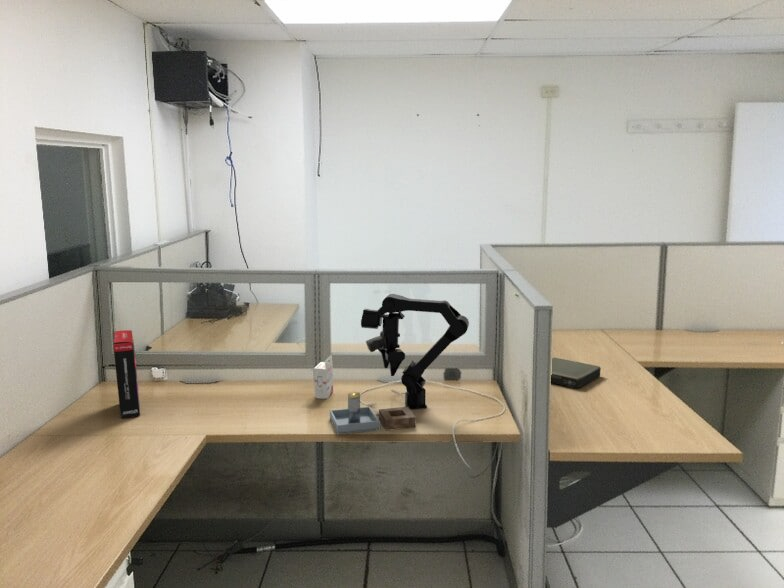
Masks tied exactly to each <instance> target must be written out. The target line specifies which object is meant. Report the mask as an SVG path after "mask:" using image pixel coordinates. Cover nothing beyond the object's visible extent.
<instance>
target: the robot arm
mask: <svg viewBox="0 0 784 588" xmlns="http://www.w3.org/2000/svg"><path fill="white" fill-rule="evenodd" d="M405 311H406V312H407V311H410V312H411V311H413V312H423V313H435V314H437V313H438V314H440V315H441V316H442V317H443V318H444V320H445V321H446V323H447V324H448V325H449V326H448V327H447V330H446V331H445V332H444V333H443V335H441V337H440V338H439V339H438V340H437V341H436V342H435V343H433V345H432V346H431V347H430V348H429V349H428V351H427V352H425V354H423V356H422V357H421V358H420V359H419V360H418V361H416V362H415V361H414V360H411V362H410V363H409V364H408V365H407V366H405V367H404V369H403V370H402V375H401V379H400V382H401V384H402V385H403V386H404V387H405V389H406V392H405V393H404V403H405V405H406V407H408V408H409V410H413V409H414V410H415V409H423V408H424V409H425V408H428V405H427V404H426V394H427V393H426V391H427V389H425V388H424V386H425V384H426V379H425V378H424V377H423V376H422V375H423V374H424V372H425V371H426V369H427V368H428V367H429V366H430V365H431V364H433V362H435V360H436V359H437V358H438V357H439V356H440V355H441V354H442V353H443V352H444V351H445V350H446V349H447V347H448V346H449V345H451V344H452V343H454V341H456V340H458V339H459V338H461V337H462V336H464V335H465V334H466V333H467V331H468V329H469V327H470V326H469V325H470V321H469V319H468V317H466V316H464V315H463V314H461V313H460V312H459V311H458V310H457V309H456V308H454V307H453V306H452V305H451V304H450V302H449V301H447V300H434V299H432V300H431V299H419V298H409V297H406V296H404V295H401V294H396V293H389V294H388V295H386V296H385V298H384V299H383V300H382V303H381V306H380V307H379V308H378V309H370V308H364V309H363V310H362V315H361V319H360V327H361V328H362V329H373V330H378V329H379V327H382V330H381V331H380V332H379V335H378V336H374V337H372V338H370V339H367V340H366V341H365V343H366V346H367V350H368V351H370V353H374V352H376V351H377V350H378V351H379V353H380V355H381V358H382V364H383V367H384V369H388V367H389V371H390V377H395V375H396V374H397V371H398V369H399V367H401V364H402V363H403V361H404V360H405V359H406V353H405V352H404V351H403V350H402V349H401V348H400V347H401V346H400V344H399V338H400V337H401V336H400V335H401V334H400V332H399V326H400V325H399V324H400V320H403V319H404V318H405V314H404V313H402V312H405ZM387 313H388V314H387Z"/></svg>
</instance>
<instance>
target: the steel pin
mask: <svg viewBox="0 0 784 588" xmlns="http://www.w3.org/2000/svg"><path fill="white" fill-rule="evenodd" d="M360 407H361V393H360V392H358V391H349V392H348V393H347V409H348V423H349V424H350V423H359V422H360Z"/></svg>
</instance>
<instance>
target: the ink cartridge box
mask: <svg viewBox="0 0 784 588" xmlns="http://www.w3.org/2000/svg"><path fill="white" fill-rule="evenodd" d="M333 364H334V363H333V356H332V354H331V355H329V356H328V357H327V358H326V359H325V360H324V361H320V362H319V363H318V364H317V365H316V366H315V367H314V368H313V379H314V398H315V399H322V400H323V399H324V400H327V399H328V398H329V397H330V396H331V394H333V393H334V374H333V373H334V370H333V369H334V368H333V367H334V366H333Z"/></svg>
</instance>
